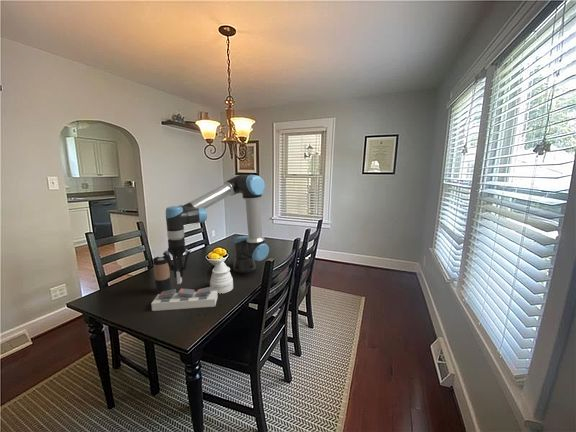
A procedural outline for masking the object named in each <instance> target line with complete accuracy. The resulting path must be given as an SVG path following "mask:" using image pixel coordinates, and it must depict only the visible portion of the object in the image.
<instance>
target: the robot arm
mask: <svg viewBox="0 0 576 432" xmlns="http://www.w3.org/2000/svg"><path fill="white" fill-rule="evenodd" d="M265 188H266V184H265V180H264V179H263V178H262V177H261V176H259V175H255V174H238V175H236V176H234V177H232V178H230V179H228V180H225V181H224V183H223V184H222V185H220V186H218V187H216V188H214V189H212V190H210V191H209V192H206V193H205V194H202V195H201V196H199V197H197V198H195V199H194V200H191V201H189V202H186V203H185V204H180V205H176V206H175V205H174V206H168V207H166V209H165V221H166V223H165V224H166V231H167V233H166V235H167V245H168V248H167V250H164V252H163V253H162V254H163V256H165V257H166V260H167V263H168V265H169V271H170V272H171V271H172V272H174V277H175V278H176V282H177V283H176V284H177V285H181V284H182V283H183V277H184V271H185V270H187V268H188V263H189V259H190V254H191V253H192V251H191V249H190V250H189V249H187V247H186V239H185V225H194V224H201V223H204V222H206V221H207V219H208V212H207V209H208V208H209V207H211V206H213V205H215V204H217V203H219V202H221V201H222V200H224V199H226V198H228V197H229V196H231V197H232V196H235V195H237V194H242V199H243V200H244V201H245V210H246V211H245V212H246V223H247V235H240V236H238V237H235V238H234V255H235V256H234V257H235V259H234V263H233V266H232V269H233V271H234V272H236V273H239V274H240V273H241V274H244V273H245V274H246V273H250V272H253V271H254V270H255V269H256V263H255V261H258V262H261V261H263V260H265V259H266V258H267V256H268V255H269V252H270V248H269V245H268V244H267V243H266V241H265V237H264V236H263V233H262V231H263V229H262V215H261V214H262V213H261V206H260V205H261V203H260V199H261V198H262V195H263V193H264V191H265ZM184 253H185V256H184V258H183V255H184ZM171 256H172V258H171ZM183 259H184V260H183Z"/></svg>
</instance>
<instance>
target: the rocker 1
mask: <svg viewBox="0 0 576 432" xmlns="http://www.w3.org/2000/svg"><path fill="white" fill-rule="evenodd" d="M175 293H177V290H176V288H173V289H172V288H171V290H167V291H163V292H161V294H160V295H159V296H158V297H159V299H163V298H168V297H172V296H174V295H175Z"/></svg>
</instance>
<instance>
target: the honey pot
mask: <svg viewBox="0 0 576 432" xmlns="http://www.w3.org/2000/svg"><path fill="white" fill-rule="evenodd" d="M230 271H231V268H230V267H229V266H227V264H226V263H225V262H224V261H223V259H217V262H216V264H215V266H214V268H212V271H211V272H212V273H211V277H210V280H209V287H212V291H217V295H219V294H220V295H221V293H222V294H226V293H229V292H231V291H232V290H233V289H234V279H233V276H232V274H231V272H230ZM218 293H219V294H218Z"/></svg>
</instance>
